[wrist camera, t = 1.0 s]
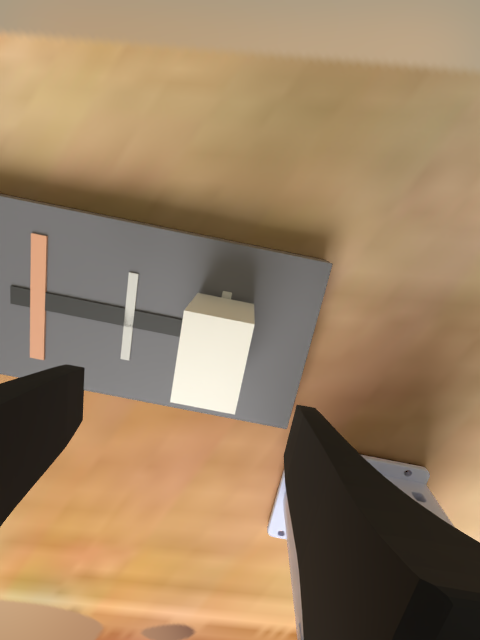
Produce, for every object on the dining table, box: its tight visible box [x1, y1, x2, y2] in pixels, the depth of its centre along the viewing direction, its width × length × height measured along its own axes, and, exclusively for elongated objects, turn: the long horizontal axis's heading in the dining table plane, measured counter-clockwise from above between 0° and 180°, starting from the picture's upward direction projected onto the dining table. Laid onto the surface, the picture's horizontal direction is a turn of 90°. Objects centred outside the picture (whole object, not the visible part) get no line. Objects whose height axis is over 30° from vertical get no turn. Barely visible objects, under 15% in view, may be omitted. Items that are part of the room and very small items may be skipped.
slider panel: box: [0, 194, 332, 429], centre depth 19 cm, size 20×10×2 cm, turn 79°
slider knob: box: [170, 293, 255, 415], centre depth 16 cm, size 3×4×4 cm
